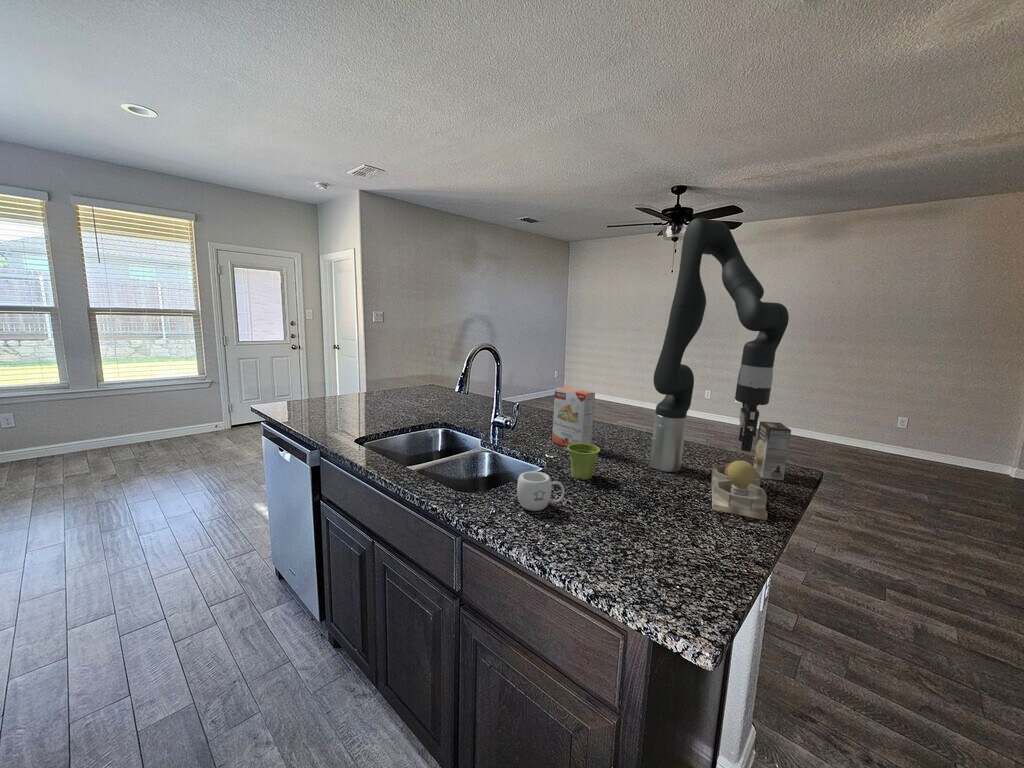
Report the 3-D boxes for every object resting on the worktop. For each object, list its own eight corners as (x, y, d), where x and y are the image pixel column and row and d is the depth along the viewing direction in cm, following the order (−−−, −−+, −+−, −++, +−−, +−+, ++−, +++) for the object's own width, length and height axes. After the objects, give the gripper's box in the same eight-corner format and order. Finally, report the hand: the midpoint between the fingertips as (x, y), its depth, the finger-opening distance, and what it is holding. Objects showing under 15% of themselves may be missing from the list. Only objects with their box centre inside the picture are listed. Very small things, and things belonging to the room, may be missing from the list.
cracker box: (550, 442, 161) (554, 387, 158) (561, 440, 166) (565, 385, 162) (580, 452, 151) (585, 393, 148) (591, 449, 155) (595, 391, 152)
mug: (519, 514, 104) (520, 483, 102) (513, 499, 112) (515, 470, 111) (568, 513, 105) (570, 482, 104) (559, 498, 114) (561, 469, 112)
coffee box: (751, 468, 143) (758, 420, 140) (773, 470, 142) (780, 422, 139) (761, 478, 134) (769, 427, 131) (784, 480, 133) (792, 429, 130)
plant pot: (576, 484, 124) (578, 454, 122) (559, 472, 132) (561, 444, 131) (604, 480, 127) (606, 451, 126) (585, 468, 136) (587, 442, 134)
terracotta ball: (723, 483, 124) (726, 463, 123) (722, 477, 130) (725, 457, 129) (747, 488, 122) (750, 467, 121) (745, 480, 127) (748, 461, 126)
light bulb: (719, 492, 117) (724, 457, 116) (742, 492, 118) (747, 457, 116) (733, 503, 111) (738, 465, 109) (757, 503, 111) (762, 465, 110)
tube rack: (712, 509, 111) (714, 493, 110) (711, 476, 134) (712, 462, 133) (766, 520, 106) (769, 502, 105) (755, 483, 129) (757, 469, 129)
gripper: (735, 378, 116) (727, 436, 119) (739, 386, 104) (729, 451, 107) (767, 381, 113) (758, 441, 116) (775, 390, 101) (764, 457, 104)
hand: (744, 446), depth 111 cm, fingers open, 8 cm apart
